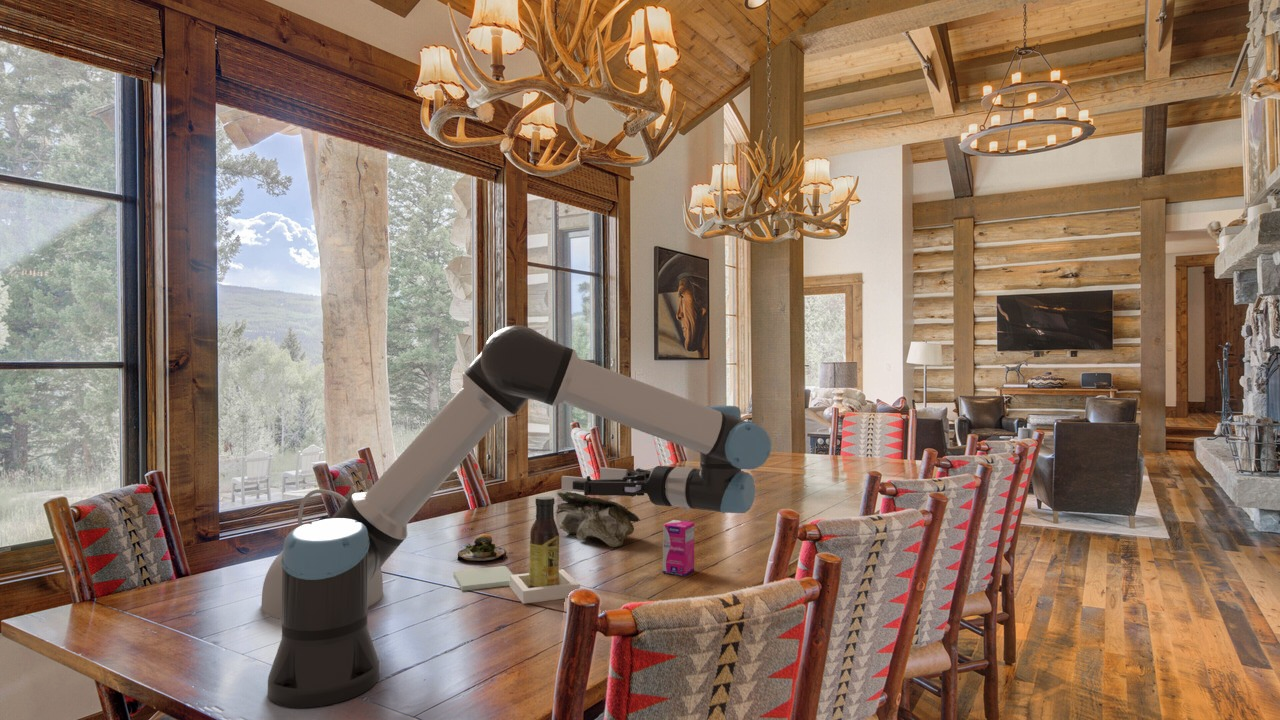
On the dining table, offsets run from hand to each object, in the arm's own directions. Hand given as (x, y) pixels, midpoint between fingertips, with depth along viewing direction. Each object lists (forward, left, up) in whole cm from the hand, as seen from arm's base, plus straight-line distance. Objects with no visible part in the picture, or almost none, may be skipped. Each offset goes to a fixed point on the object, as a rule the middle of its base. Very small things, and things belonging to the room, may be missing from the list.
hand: (582, 478), depth 144 cm
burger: (-13, +40, -25) cm, 49 cm away
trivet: (-16, +21, -25) cm, 36 cm away
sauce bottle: (-6, +8, -25) cm, 27 cm away
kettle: (-48, +19, -25) cm, 57 cm away
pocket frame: (-6, +8, -25) cm, 27 cm away
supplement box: (+27, +10, -25) cm, 38 cm away
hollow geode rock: (+20, +49, -25) cm, 58 cm away
